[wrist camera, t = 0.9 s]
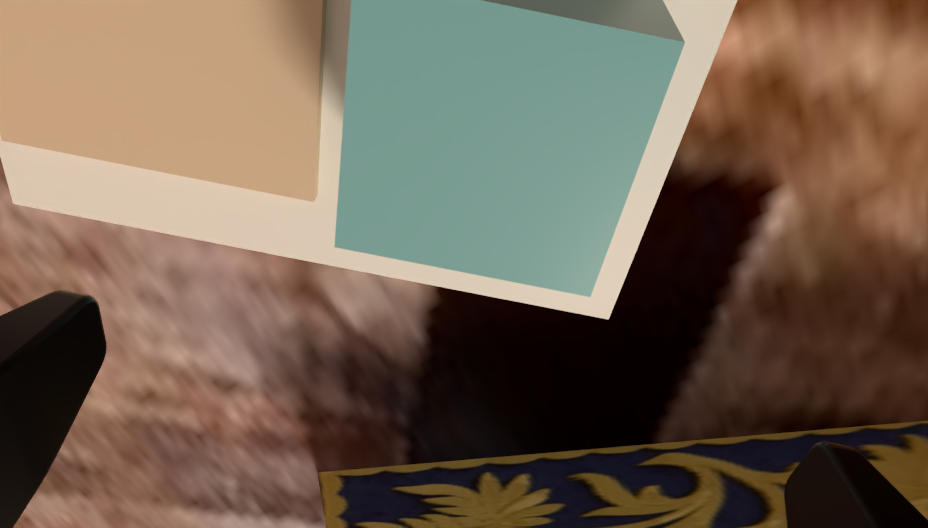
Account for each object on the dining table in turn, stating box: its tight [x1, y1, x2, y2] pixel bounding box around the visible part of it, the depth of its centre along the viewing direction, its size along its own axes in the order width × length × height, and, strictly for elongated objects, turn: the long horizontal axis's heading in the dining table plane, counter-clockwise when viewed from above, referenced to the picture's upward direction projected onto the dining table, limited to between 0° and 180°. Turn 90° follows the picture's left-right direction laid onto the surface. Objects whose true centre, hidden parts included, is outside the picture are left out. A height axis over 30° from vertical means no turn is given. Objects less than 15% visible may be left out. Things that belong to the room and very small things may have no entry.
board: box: [0, 0, 737, 320], centre depth 16 cm, size 19×14×5 cm
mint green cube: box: [334, 0, 685, 297], centre depth 15 cm, size 6×6×4 cm
